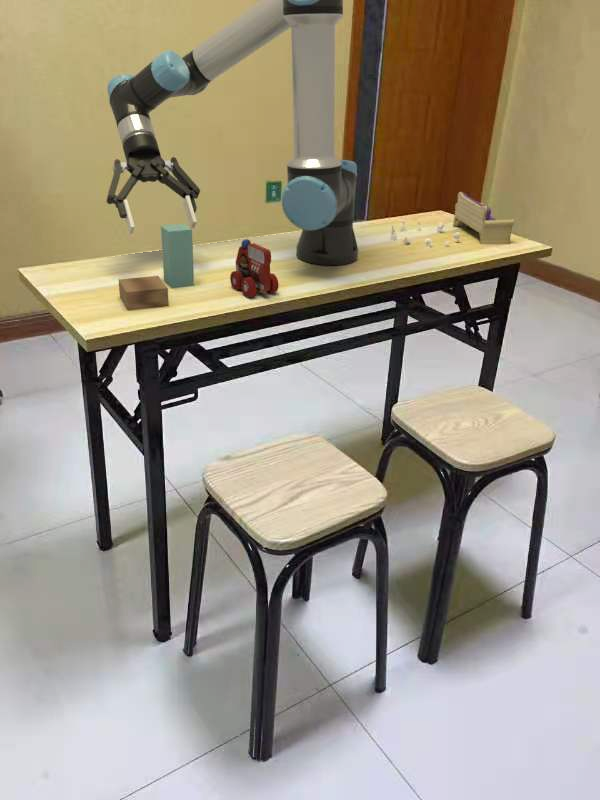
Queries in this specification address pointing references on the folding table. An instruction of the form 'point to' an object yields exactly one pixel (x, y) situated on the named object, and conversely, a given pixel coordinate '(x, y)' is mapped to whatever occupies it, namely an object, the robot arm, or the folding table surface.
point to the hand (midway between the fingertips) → (163, 227)
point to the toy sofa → (482, 221)
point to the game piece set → (428, 240)
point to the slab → (143, 293)
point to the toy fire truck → (253, 270)
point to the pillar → (177, 255)
